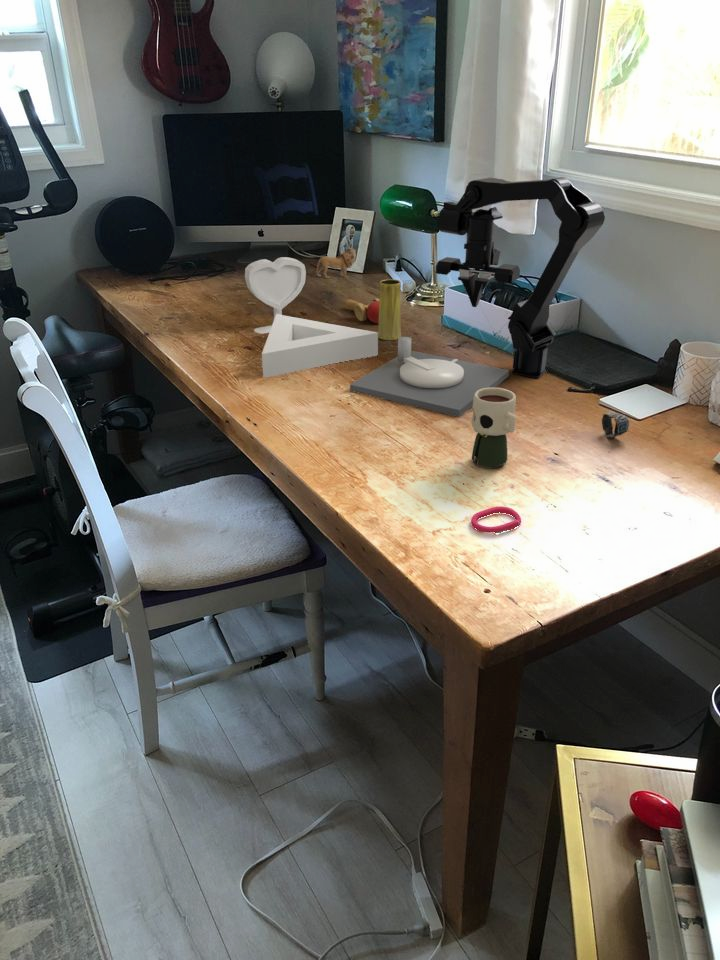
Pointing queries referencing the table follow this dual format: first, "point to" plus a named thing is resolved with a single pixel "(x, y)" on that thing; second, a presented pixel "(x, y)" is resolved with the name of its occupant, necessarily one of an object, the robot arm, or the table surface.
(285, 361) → the triangle block
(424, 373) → the dial
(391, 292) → the vase
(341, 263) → the lion figurine
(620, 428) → the wristwatch
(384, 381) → the dial plate
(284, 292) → the heart sculpture
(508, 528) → the fitness band
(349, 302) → the kendama
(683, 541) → the table surface
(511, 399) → the character mug
